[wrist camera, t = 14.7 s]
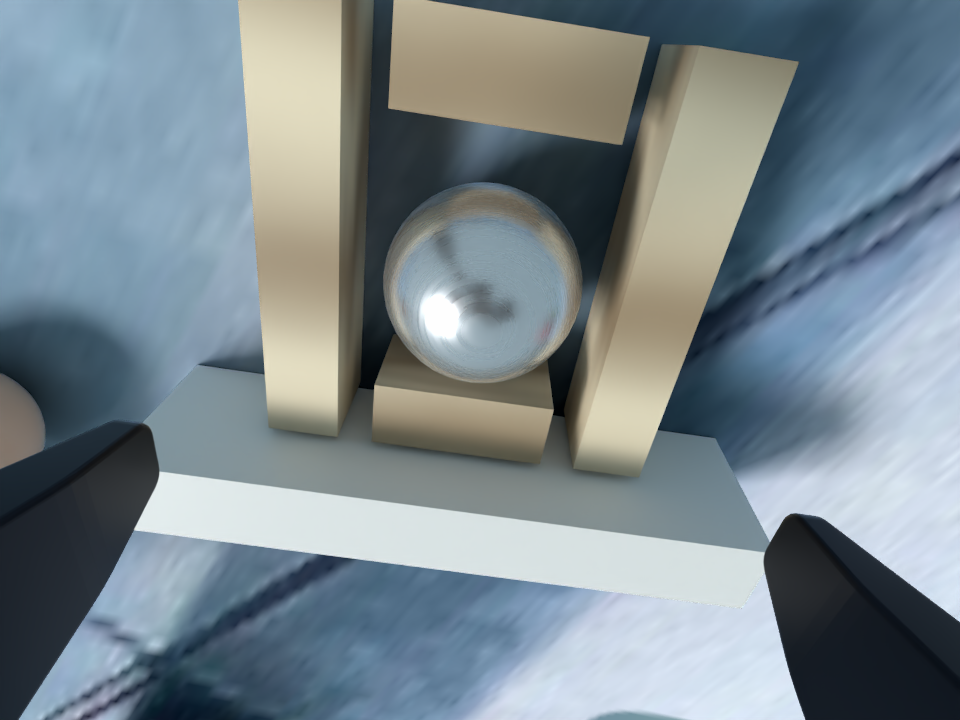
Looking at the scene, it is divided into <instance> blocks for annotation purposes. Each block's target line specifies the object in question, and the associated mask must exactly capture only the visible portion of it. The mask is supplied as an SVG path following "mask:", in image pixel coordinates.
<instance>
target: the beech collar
mask: <svg viewBox="0 0 960 720" xmlns="http://www.w3.org/2000/svg"><path fill="white" fill-rule="evenodd" d="M238 4H239V18H240V32H241V46H242V60H243V75H244V89H245V103H246V117H247V131H248V145H249V159H250V173H251V187H252V201H253V215H254V229H255V243H256V257H257V271H258V285H259V299H260V313H261V327H262V342H263V356H264V370H265V384H266V398H267V412H268V426H269V428H274V429H282V430H289V431H296V432H304V433H311V434H319V435H326V436H334V437H338V434H339V432H340V430H341V427H342V425H343V422H344V420H345V418H346V415H347V413H348V411H349V408H350V406H351V403H352V401H353V399H354V396H355V394H356V392H357V389H358V387H359V384H360V382H361V358H362V329H363V301H364V272H365V243H366V215H367V186H368V157H369V128H370V100H371V71H372V42H373V14H374V0H238ZM649 39H650V37H646V36H640V35H634V34H627V33H621V32H615V31H609V30H603V29H597V28H591V27H585V26H579V25H573V24H567V23H561V22H555V21H549V20H543V19H537V18H531V17H525V16H519V15H513V14H507V13H500V12H494V11H488V10H482V9H476V8H470V7H464V6H458V5H452V4H446V3H440V2H434V1H428V0H394V4H393V24H392V44H391V64H390V84H389V103H388V108H389V109H396V110H402V111H408V112H415V113H421V114H427V115H434V116H440V117H446V118H453V119H459V120H465V121H472V122H478V123H484V124H491V125H497V126H503V127H510V128H516V129H523V130H529V131H535V132H542V133H548V134H554V135H561V136H567V137H573V138H580V139H586V140H592V141H599V142H605V143H611V144H618V145H622V143H623V140H624V136H625V132H626V128H627V124H628V120H629V116H630V112H631V108H632V105H633V101H634V97H635V93H636V89H637V85H638V81H639V77H640V74H641V70H642V66H643V62H644V58H645V54H646V50H647V46H648V43H649ZM798 64H799V62H797V61H791V60H785V59H779V58H773V57H767V56H761V55H754V54H748V53H742V52H736V51H730V50H724V49H718V48H712V47H706V46H700V45H671V44H662V46H661V49H660V53H659V57H658V61H657V64H656V68H655V72H654V76H653V79H652V83H651V87H650V90H649V94H648V98H647V102H646V105H645V109H644V113H643V116H642V120H641V124H640V128H639V131H638V135H637V139H636V142H635V146H634V150H633V154H632V157H631V161H630V165H629V168H628V172H627V176H626V180H625V183H624V187H623V191H622V195H621V198H620V202H619V206H618V209H617V213H616V217H615V221H614V224H613V228H612V232H611V235H610V239H609V243H608V247H607V250H606V254H605V258H604V261H603V265H602V269H601V273H600V276H599V280H598V284H597V287H596V291H595V295H594V299H593V302H592V306H591V310H590V314H589V317H588V321H587V325H586V328H585V332H584V336H583V340H582V343H581V347H580V351H579V354H578V358H577V362H576V366H575V369H574V373H573V377H572V380H571V384H570V388H569V392H568V395H567V399H566V403H565V407H564V415H565V421H566V428H567V434H568V440H569V447H570V453H571V459H572V465H573V469H579V470H586V471H594V472H601V473H609V474H616V475H623V476H631V477H638V478H639V476H640V474H641V471H642V468H643V466H644V463H645V461H646V458H647V455H648V453H649V450H650V448H651V445H652V442H653V440H654V437H655V435H656V432H657V429H658V427H659V424H660V422H661V419H662V417H663V414H664V411H665V409H666V406H667V404H668V401H669V398H670V396H671V393H672V391H673V388H674V385H675V383H676V380H677V378H678V375H679V372H680V370H681V367H682V365H683V362H684V359H685V357H686V354H687V352H688V349H689V346H690V344H691V341H692V339H693V336H694V333H695V331H696V328H697V326H698V323H699V320H700V318H701V315H702V313H703V310H704V308H705V305H706V302H707V300H708V297H709V295H710V292H711V289H712V287H713V284H714V282H715V279H716V276H717V274H718V271H719V269H720V266H721V263H722V261H723V258H724V256H725V253H726V250H727V248H728V245H729V243H730V240H731V237H732V235H733V232H734V230H735V227H736V224H737V222H738V219H739V217H740V214H741V212H742V209H743V206H744V204H745V201H746V199H747V196H748V193H749V191H750V188H751V186H752V183H753V180H754V178H755V175H756V173H757V170H758V167H759V165H760V162H761V160H762V157H763V154H764V152H765V149H766V147H767V144H768V141H769V139H770V136H771V134H772V131H773V128H774V126H775V123H776V121H777V118H778V115H779V113H780V110H781V108H782V105H783V103H784V100H785V97H786V95H787V92H788V90H789V87H790V84H791V82H792V79H793V77H794V74H795V71H796V69H797V66H798ZM553 411H554V407H553V400H552V392H551V385H550V377H549V370H548V362H547V360H546V361H545V362H544V363H542V364H541V365H539V366H538V367H536V368H535V369H533V370H532V371H530V372H528V373H526V374H524V375H521V376H519V377H516V378H514V379H510V380H506V381H502V382H495V383H470V382H464V381H459V380H456V379H452V378H449V377H447V376H444V375H442V374H440V373H438V372H436V371H434V370H432V369H431V368H429V367H428V366H426V365H425V364H423V363H422V362H421V361H420V360H419V359H417V358H416V357H415V356H414V355H413V354H412V353H411V352H410V351H409V350H408V349H407V347H406V346H405V345H404V344H403V342H402V341H401V339H400V338H399V336H398V335H396V334H393V337H392V339H391V342H390V345H389V347H388V350H387V353H386V355H385V358H384V361H383V363H382V366H381V369H380V371H379V374H378V377H377V379H376V382H375V385H374V402H373V422H372V442H378V443H386V444H393V445H400V446H408V447H415V448H423V449H430V450H438V451H445V452H453V453H460V454H467V455H475V456H482V457H490V458H497V459H505V460H512V461H519V462H527V463H534V464H540V462H541V458H542V454H543V450H544V446H545V442H546V438H547V434H548V431H549V427H550V423H551V419H552V415H553Z"/></svg>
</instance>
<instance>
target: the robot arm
mask: <svg viewBox="0 0 960 720" xmlns="http://www.w3.org/2000/svg"><path fill="white" fill-rule="evenodd" d="M159 472H160V470H159V463H158V458H157V453H156V448H155V443H154V438H153V433H152V430H151V429H150V427H149V426H148V425H146V424H144V423H139V422H132V421H125V420H114V421H111V422H109V423H106V424H104V425H102V426H99V427H97V428H95V429H92V430H90V431H88V432H85V433H83V434H81V435H78V436H76V437H73V438H71V439H69V440H66V441H64V442H62V443H59V444H57V445H55V446H52V447H50V448H48V449H45V450H43V451H41V452H38V453H36V454H34V455H31V456H29V457H27V458H24V459H22V460H20V461H17V462H15V463H13V464H10V465H8V466H6V467H3V468H1V469H0V720H19V718H20V717H21V715H22V713H23V712H24V710H25V709H26V707H27V706H28V704H29V703H30V701H31V700H32V698H33V696H34V695H35V693H36V692H37V690H38V689H39V687H40V686H41V684H42V683H43V681H44V680H45V678H46V676H47V675H48V673H49V672H50V670H51V669H52V667H53V666H54V664H55V663H56V661H57V660H58V658H59V656H60V655H61V653H62V652H63V650H64V649H65V647H66V646H67V644H68V643H69V641H70V640H71V638H72V636H73V635H74V633H75V632H76V630H77V629H78V627H79V626H80V624H81V623H82V621H83V619H84V618H85V616H86V615H87V613H88V612H89V610H90V609H91V607H92V606H93V604H94V602H95V601H96V599H97V598H98V596H99V594H100V593H101V591H102V589H103V588H104V586H105V584H106V582H107V581H108V579H109V577H110V575H111V573H112V572H113V570H114V568H115V566H116V564H117V562H118V560H119V558H120V556H121V554H122V552H123V550H124V548H125V546H126V544H127V542H128V540H129V538H130V536H131V535H132V533H133V531H134V529H135V527H136V525H137V523H138V521H139V519H140V517H141V515H142V513H143V511H144V509H145V507H146V505H147V503H148V501H149V499H150V497H151V495H152V494H153V492H154V490H155V488H156V485H157V483H158V479H159ZM763 564H764V571H765V575H766V579H767V584H768V588H769V592H770V596H771V600H772V604H773V608H774V612H775V616H776V621H777V625H778V629H779V633H780V637H781V641H782V645H783V649H784V654H785V658H786V661H787V665H788V668H789V672H790V676H791V679H792V682H793V685H794V688H795V691H796V694H797V697H798V700H799V703H800V706H801V709H802V711H803V714H804V717H805V720H960V622H959V621H958V620H956V619H955V618H954V617H952V616H951V615H950V614H948V613H947V612H946V611H944V610H943V609H942V608H940V607H939V606H938V605H936V604H935V603H934V602H933V601H931V600H930V599H929V598H927V597H926V596H925V595H923V594H922V593H921V592H919V591H918V590H917V589H915V588H914V587H913V586H911V585H910V584H909V583H907V582H906V581H905V580H904V579H902V578H901V577H900V576H898V575H897V574H896V573H894V572H893V571H892V570H890V569H889V568H888V567H886V566H885V565H884V564H882V563H881V562H880V561H878V560H877V559H876V558H875V557H873V556H872V555H871V554H869V553H868V552H867V551H865V550H864V549H863V548H861V547H860V546H859V545H857V544H856V543H855V542H853V541H852V540H851V539H850V538H848V537H847V536H846V535H844V534H843V533H842V532H840V531H839V530H838V529H836V528H835V527H834V526H832V525H831V524H830V523H828V522H827V521H826V520H824V519H822V518H820V517H817V516H811V515H804V514H797V513H794V514H790V515H788V516H787V517H786V518H785V519H784V520H783V522H782V523H781V525H780V527H779V528H778V530H777V532H776V533H775V535H774V537H773V538H772V540H771V542H770V543H769V545H768V547H767V549H766V551H765V554H764V560H763Z"/></svg>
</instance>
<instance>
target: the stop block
mask: <svg viewBox="0 0 960 720" xmlns="http://www.w3.org/2000/svg"><path fill="white" fill-rule="evenodd" d="M373 402H374V390H371V389H364V388H358V389H357V392H356V394H355V396H354V399H353V401H352V403H351V406H350V408H349V411H348V413H347V415H346V418H345V420H344V422H343V425H342V427H341V430H340V432H339V434H338V437H334V436H326V435H319V434H311V433H304V432H296V431H289V430H282V429H274V428H269V426H268V412H267V398H266V384H265V374H258V373H251V372H244V371H237V370H230V369H223V368H216V367H209V366H201V365H196V366H195V367H194V368H193V370H192V371H191V372H190V373H189V374H188V375H187V376H186V377H185V378H184V379H183V380H182V381H181V382H180V383H179V384H178V385H177V386H176V388H175V389H174V390H173V391H172V392H171V393H170V394H169V395H168V396H167V397H166V398H165V399H164V400H163V401H162V402H161V403H160V404H159V406H158V407H157V408H156V409H155V410H154V411H153V412H152V413H151V414H150V415H149V416H148V417H147V418H146V419H145V420H144V421H143V422H142V423H144V424H146V425H148V426H149V427H150V429H151V430H152V433H153V438H154V443H155V448H156V453H157V458H158V463H159V470H160V472H159V479H158V483H157V485H156V488H155V490H154V492H153V494H152V495H151V497H150V499H149V501H148V503H147V505H146V507H145V509H144V511H143V513H142V515H141V517H140V519H139V521H138V523H137V525H136V527H135V529H134V530H137V531H144V532H152V533H160V534H168V535H175V536H183V537H191V538H199V539H206V540H214V541H222V542H230V543H237V544H245V545H253V546H260V547H268V548H276V549H284V550H291V551H299V552H307V553H315V554H322V555H330V556H338V557H346V558H353V559H361V560H369V561H376V562H384V563H392V564H400V565H407V566H415V567H423V568H431V569H438V570H446V571H454V572H461V573H469V574H477V575H485V576H492V577H500V578H508V579H516V580H523V581H531V582H539V583H547V584H554V585H562V586H570V587H577V588H585V589H593V590H601V591H608V592H616V593H624V594H632V595H639V596H647V597H655V598H663V599H670V600H678V601H686V602H693V603H701V604H709V605H717V606H724V607H732V608H740V609H742V608H743V606H744V605H745V603H746V601H747V600H748V598H749V597H750V595H751V593H752V592H753V590H754V589H755V587H756V585H757V584H758V582H759V581H760V579H761V577H762V576H763V574H764V572H765V571H764V564H763V560H764V554H765V551H766V549H767V547H768V545H769V543H770V542H769V540H768V538H767V536H766V534H765V532H764V530H763V528H762V526H761V525H760V523H759V521H758V519H757V517H756V515H755V513H754V511H753V509H752V507H751V506H750V504H749V502H748V500H747V498H746V496H745V494H744V492H743V490H742V488H741V487H740V485H739V483H738V481H737V479H736V477H735V475H734V473H733V471H732V469H731V468H730V466H729V464H728V462H727V460H726V458H725V456H724V454H723V452H722V450H721V449H720V447H719V445H718V443H717V441H716V439H715V438H709V437H702V436H695V435H688V434H681V433H674V432H667V431H660V430H657V432H656V435H655V437H654V440H653V442H652V445H651V448H650V450H649V453H648V455H647V458H646V461H645V463H644V466H643V468H642V471H641V474H640V476H639V478H638V477H631V476H623V475H616V474H609V473H601V472H594V471H586V470H579V469H573V465H572V459H571V453H570V447H569V440H568V434H567V428H566V421H565V417H561V416H554V415H552V419H551V423H550V427H549V431H548V434H547V438H546V442H545V446H544V450H543V454H542V458H541V462H540V464H534V463H527V462H519V461H512V460H505V459H497V458H490V457H482V456H475V455H467V454H460V453H453V452H445V451H438V450H430V449H423V448H415V447H408V446H400V445H393V444H386V443H378V442H372V422H373Z"/></svg>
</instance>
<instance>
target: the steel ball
mask: <svg viewBox="0 0 960 720" xmlns="http://www.w3.org/2000/svg"><path fill="white" fill-rule="evenodd" d="M582 281H583V279H582V269H581V264H580V260H579V255H578V251H577V249H576V246H575V244H574V241H573V239H572V237H571V235H570V233H569V232H568V230H567V228H566V227H565V225H564V224H563V223H562V221H561V220H560V219H559V218H558V216H557V215H556V214H555V213H554V212H553V211H552V210H551V209H550V208H549V207H548V206H547V205H546V204H544V203H543V202H541V201H540V200H539V199H537V198H536V197H534V196H532V195H530V194H528V193H526V192H524V191H522V190H520V189H517V188H514V187H511V186H508V185H503V184H499V183H488V182H478V183H468V184H463V185H458V186H455V187H452V188H449V189H446V190H444V191H442V192H440V193H438V194H435V195H433V196H432V197H430V198H429V199H427V200H426V201H424V202H423V203H421V204H420V205H419V206H418V207H417V208H416V209H415V210H414V211H413V212H412V213H411V214H410V215H409V216H408V217H407V219H406V220H405V221H404V222H403V224H402V225H401V226H400V228H399V230H398V231H397V233H396V235H395V236H394V238H393V241H392V243H391V245H390V247H389V251H388V254H387V258H386V262H385V267H384V275H383V290H384V298H385V304H386V308H387V312H388V315H389V318H390V320H391V322H392V325H393V327H394V329H395V331H396V333H397V335H398V336H399V338H400V339H401V341H402V342H403V344H404V345H405V346H406V347H407V349H408V350H409V351H410V352H411V353H412V354H413V355H414V356H415V357H416V358H417V359H419V360H420V361H421V362H422V363H423V364H425V365H426V366H428V367H429V368H431V369H432V370H434V371H436V372H438V373H440V374H442V375H444V376H447V377H449V378H452V379H456V380H459V381H464V382H470V383H495V382H502V381H506V380H510V379H514V378H516V377H519V376H521V375H524V374H526V373H528V372H530V371H532V370H533V369H535V368H536V367H538V366H539V365H541V364H542V363H544V362H545V361H546V360H547V359H548V358H549V357H550V356H551V355H552V354H554V353H555V351H556V350H557V349H558V348H559V347H560V346H561V345H562V343H563V342H564V340H565V339H566V337H567V336H568V334H569V332H570V330H571V328H572V326H573V324H574V322H575V320H576V317H577V314H578V311H579V307H580V302H581V296H582Z"/></svg>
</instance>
